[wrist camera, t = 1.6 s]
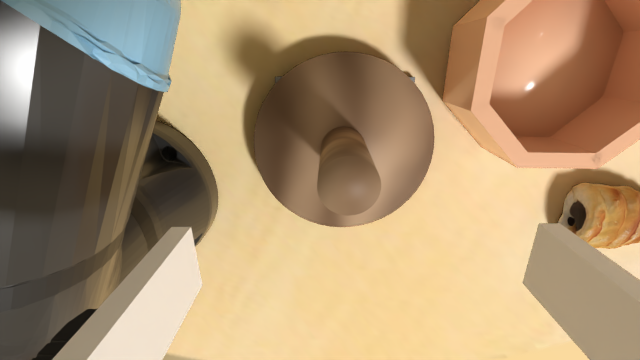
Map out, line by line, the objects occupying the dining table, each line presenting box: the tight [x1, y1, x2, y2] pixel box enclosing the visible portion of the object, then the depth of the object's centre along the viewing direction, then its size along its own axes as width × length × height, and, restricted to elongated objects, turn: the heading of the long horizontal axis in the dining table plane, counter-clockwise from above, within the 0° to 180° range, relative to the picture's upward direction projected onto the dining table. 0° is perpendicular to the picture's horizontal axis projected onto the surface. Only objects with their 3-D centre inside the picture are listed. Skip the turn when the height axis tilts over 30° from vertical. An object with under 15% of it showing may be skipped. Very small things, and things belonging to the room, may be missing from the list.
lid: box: [254, 52, 434, 227], centre depth 24 cm, size 16×16×10 cm
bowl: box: [442, 0, 640, 169], centre depth 24 cm, size 14×14×6 cm
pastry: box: [558, 183, 640, 249], centre depth 30 cm, size 9×7×4 cm
